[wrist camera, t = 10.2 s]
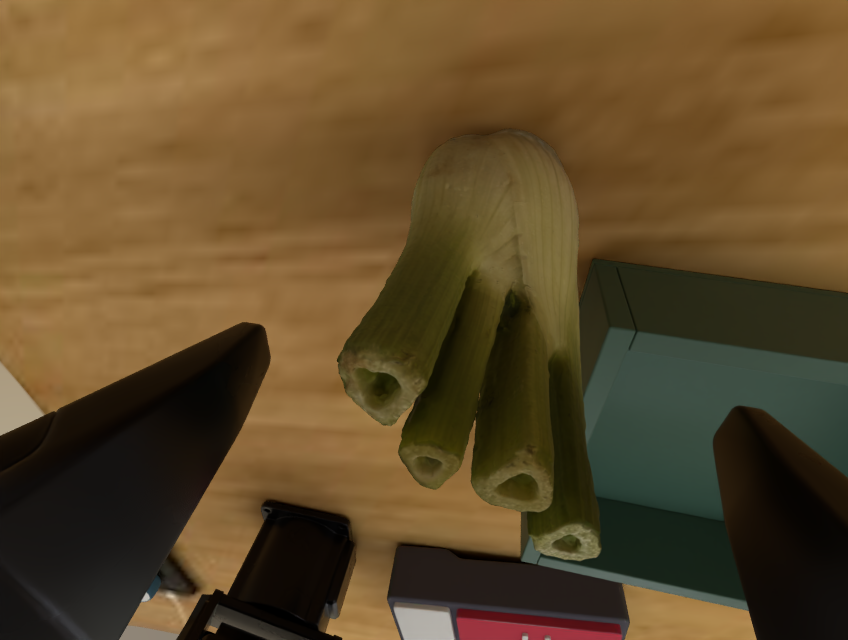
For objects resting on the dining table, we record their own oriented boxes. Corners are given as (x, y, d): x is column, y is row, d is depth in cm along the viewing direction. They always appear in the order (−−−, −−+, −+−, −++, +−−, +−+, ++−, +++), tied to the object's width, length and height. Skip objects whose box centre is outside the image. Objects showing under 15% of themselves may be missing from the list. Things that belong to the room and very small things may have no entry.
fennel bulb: (582, 255, 17) (649, 593, 7) (457, 277, 19) (381, 579, 9) (559, 92, 14) (623, 307, 4) (413, 135, 16) (228, 363, 6)
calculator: (612, 700, 32) (406, 674, 35) (601, 632, 35) (415, 613, 38) (635, 636, 26) (382, 610, 28) (618, 560, 29) (395, 543, 32)
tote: (521, 484, 26) (519, 561, 22) (592, 257, 17) (609, 327, 13) (817, 542, 24) (867, 637, 20) (1069, 322, 15) (1232, 422, 12)
